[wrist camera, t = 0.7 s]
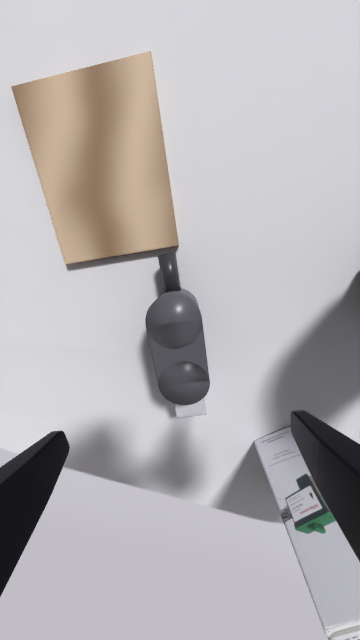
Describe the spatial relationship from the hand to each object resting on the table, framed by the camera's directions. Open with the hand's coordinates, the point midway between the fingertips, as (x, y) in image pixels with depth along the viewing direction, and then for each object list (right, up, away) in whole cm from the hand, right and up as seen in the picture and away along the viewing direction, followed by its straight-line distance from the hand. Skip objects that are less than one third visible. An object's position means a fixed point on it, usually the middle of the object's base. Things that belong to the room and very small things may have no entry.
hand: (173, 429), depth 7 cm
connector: (0, +3, +11) cm, 11 cm away
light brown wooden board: (-6, +16, +7) cm, 18 cm away
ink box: (+13, -12, +15) cm, 23 cm away
